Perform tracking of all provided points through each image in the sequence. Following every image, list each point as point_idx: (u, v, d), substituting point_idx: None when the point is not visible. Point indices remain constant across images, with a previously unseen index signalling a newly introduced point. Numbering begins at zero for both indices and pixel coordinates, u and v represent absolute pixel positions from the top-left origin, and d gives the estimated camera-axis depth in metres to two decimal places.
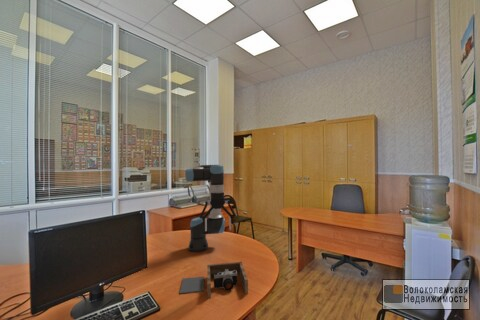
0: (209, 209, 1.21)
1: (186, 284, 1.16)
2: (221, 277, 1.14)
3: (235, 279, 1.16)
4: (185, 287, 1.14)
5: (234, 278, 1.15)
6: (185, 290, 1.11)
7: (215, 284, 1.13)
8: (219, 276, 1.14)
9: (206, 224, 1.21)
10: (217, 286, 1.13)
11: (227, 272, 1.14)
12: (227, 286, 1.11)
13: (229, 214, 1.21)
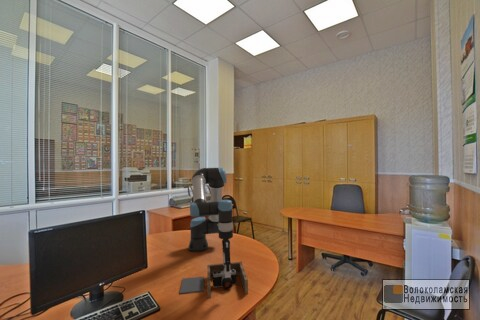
0: None
1: (186, 284, 1.16)
2: (220, 276, 1.15)
3: (234, 278, 1.17)
4: (185, 287, 1.14)
5: (233, 277, 1.17)
6: (185, 290, 1.11)
7: (214, 283, 1.14)
8: (218, 275, 1.15)
9: (224, 258, 1.20)
10: (216, 285, 1.14)
11: None
12: (226, 285, 1.12)
13: None
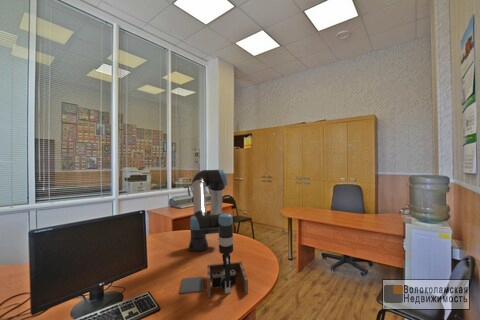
0: None
1: (186, 284, 1.16)
2: (219, 277, 1.14)
3: (234, 279, 1.16)
4: (185, 287, 1.14)
5: (232, 278, 1.15)
6: (185, 290, 1.11)
7: (213, 284, 1.13)
8: (217, 276, 1.14)
9: None
10: (215, 286, 1.13)
11: None
12: None
13: None
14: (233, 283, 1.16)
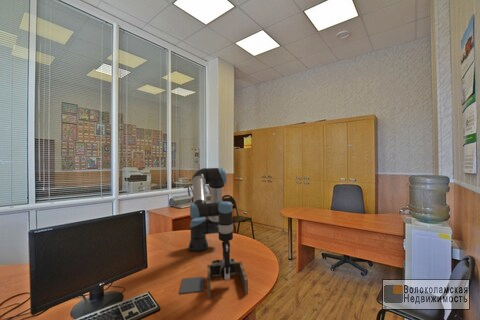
0: None
1: (186, 284, 1.16)
2: (219, 265, 1.14)
3: (233, 267, 1.16)
4: (185, 287, 1.14)
5: (232, 266, 1.15)
6: (185, 290, 1.11)
7: (213, 272, 1.14)
8: (217, 264, 1.14)
9: None
10: (215, 274, 1.14)
11: None
12: None
13: (224, 261, 1.09)
14: (233, 271, 1.15)
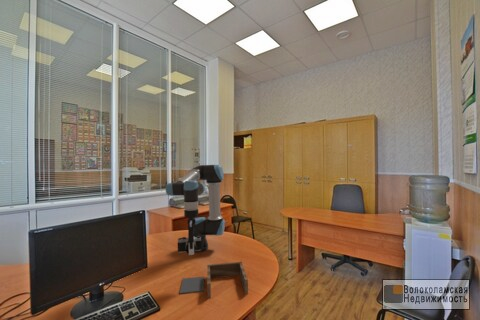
0: None
1: (186, 284, 1.16)
2: (184, 242, 1.17)
3: (199, 244, 1.18)
4: (185, 287, 1.14)
5: (198, 243, 1.18)
6: (185, 290, 1.11)
7: (178, 248, 1.16)
8: (182, 240, 1.17)
9: None
10: (180, 250, 1.16)
11: None
12: None
13: None
14: (198, 248, 1.18)
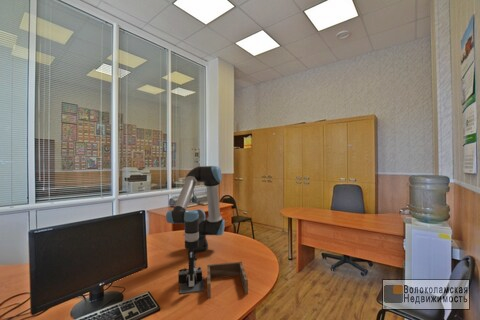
0: None
1: (186, 284, 1.16)
2: (185, 273, 1.17)
3: (200, 276, 1.18)
4: (185, 287, 1.14)
5: (198, 275, 1.18)
6: (185, 290, 1.11)
7: (179, 280, 1.17)
8: (183, 272, 1.17)
9: None
10: (181, 282, 1.16)
11: None
12: None
13: None
14: (199, 280, 1.18)
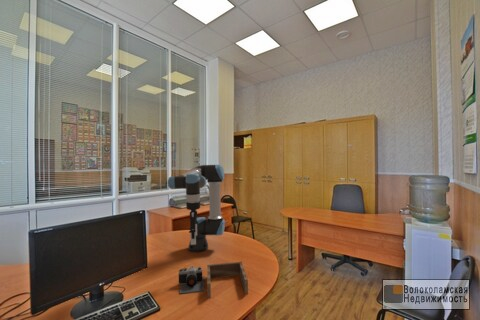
0: None
1: (186, 284, 1.16)
2: (185, 273, 1.17)
3: (200, 276, 1.18)
4: (185, 287, 1.14)
5: (198, 275, 1.18)
6: (185, 290, 1.11)
7: (179, 280, 1.17)
8: (183, 272, 1.17)
9: (193, 229, 1.27)
10: (181, 282, 1.17)
11: (191, 269, 1.17)
12: (190, 282, 1.14)
13: None
14: (199, 280, 1.18)
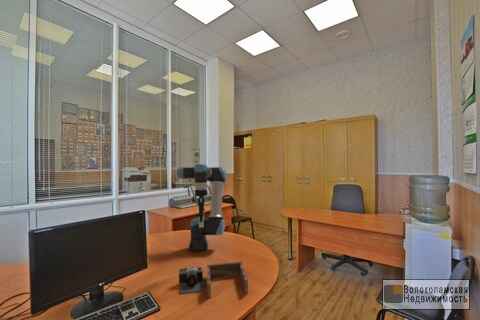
0: None
1: (186, 284, 1.16)
2: (186, 273, 1.17)
3: (200, 275, 1.19)
4: (185, 287, 1.14)
5: (199, 274, 1.19)
6: (185, 290, 1.11)
7: (180, 280, 1.17)
8: (184, 272, 1.17)
9: None
10: (182, 282, 1.17)
11: (191, 268, 1.17)
12: (190, 282, 1.14)
13: (199, 212, 1.25)
14: (199, 280, 1.19)
